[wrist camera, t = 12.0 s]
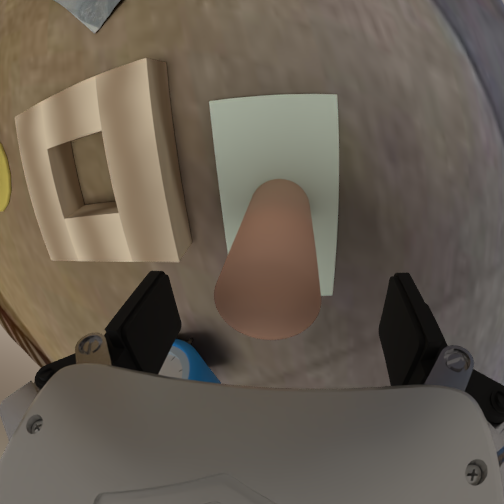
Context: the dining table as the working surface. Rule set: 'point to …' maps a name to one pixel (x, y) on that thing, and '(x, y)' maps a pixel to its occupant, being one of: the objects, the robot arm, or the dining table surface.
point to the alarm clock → (186, 363)
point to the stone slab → (90, 11)
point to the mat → (281, 161)
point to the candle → (4, 180)
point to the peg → (272, 266)
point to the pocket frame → (120, 168)
